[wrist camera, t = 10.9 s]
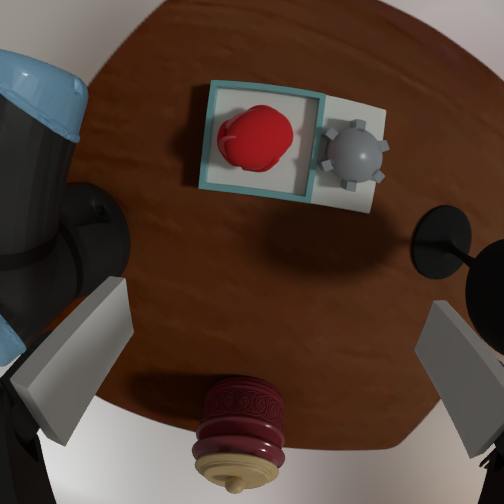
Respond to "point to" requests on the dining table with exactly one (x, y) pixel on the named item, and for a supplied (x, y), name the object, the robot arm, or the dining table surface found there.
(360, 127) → the carrier board
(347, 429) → the dining table surface
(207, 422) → the canister
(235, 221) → the dining table surface
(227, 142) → the cap
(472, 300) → the wine glass
